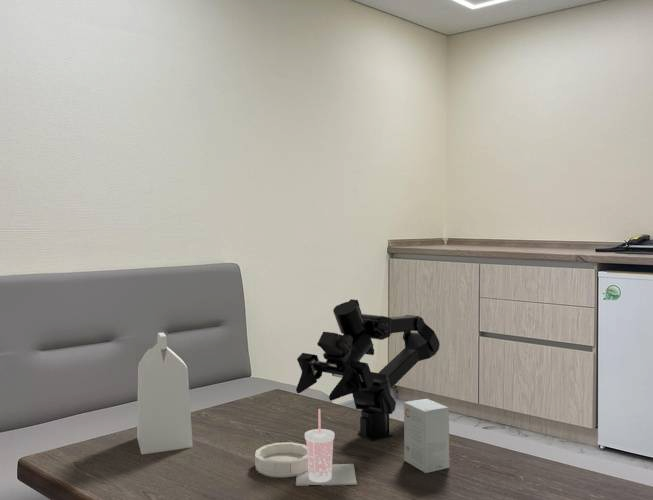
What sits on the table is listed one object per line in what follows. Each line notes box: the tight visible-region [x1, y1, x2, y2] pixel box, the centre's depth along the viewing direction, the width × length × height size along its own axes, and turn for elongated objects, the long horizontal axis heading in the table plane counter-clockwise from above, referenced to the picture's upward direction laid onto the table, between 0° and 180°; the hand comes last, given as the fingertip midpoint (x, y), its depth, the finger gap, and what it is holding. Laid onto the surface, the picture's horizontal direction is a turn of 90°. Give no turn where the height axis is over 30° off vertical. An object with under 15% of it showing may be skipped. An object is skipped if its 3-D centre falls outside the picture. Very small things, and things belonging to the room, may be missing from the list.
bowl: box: [254, 441, 308, 479], centre depth 130 cm, size 12×12×3 cm
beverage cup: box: [304, 408, 336, 482], centre depth 123 cm, size 6×6×14 cm
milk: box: [136, 332, 193, 455], centre depth 145 cm, size 12×12×26 cm
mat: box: [295, 463, 358, 487], centre depth 125 cm, size 12×10×1 cm
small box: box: [403, 398, 450, 474], centre depth 130 cm, size 8×6×13 cm
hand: (313, 395), depth 131 cm, fingers open, 9 cm apart
